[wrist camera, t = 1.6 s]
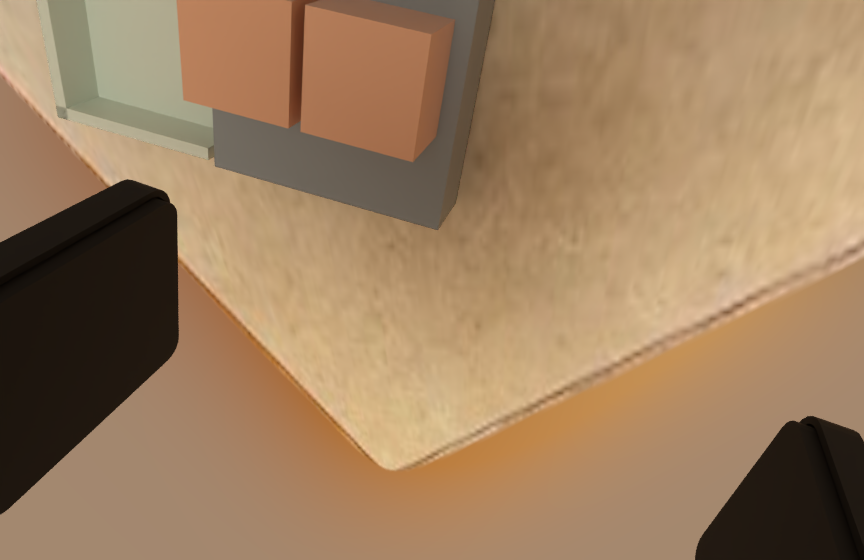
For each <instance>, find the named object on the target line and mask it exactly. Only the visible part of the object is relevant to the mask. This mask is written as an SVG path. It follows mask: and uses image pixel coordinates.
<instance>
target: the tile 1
mask: <svg viewBox="0 0 864 560" xmlns="http://www.w3.org/2000/svg"><path fill="white" fill-rule="evenodd" d="M176 1H177V15H178V29H179V44H180V58H181V72H182V87H183V100H185V101H188V102H192V103H196V104H199V105H203V106H207V107H210V108H214V109H218V110H222V111H225V112H229V113H233V114H236V115H240V116H244V117H247V118H251V119H255V120H259V121H262V122H266V123H270V124H273V125H277V126H281V127H284V128H290V127H292V126H293V125H295V124H296V123H298V122H300V121H301V103H302V76H303V49H304V22H305V5H306V4H309V3H313V2H316V1H319V0H176Z"/></svg>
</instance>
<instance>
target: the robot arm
mask: <svg viewBox="0 0 864 560" xmlns="http://www.w3.org/2000/svg"><path fill="white" fill-rule="evenodd" d="M178 329H179V328H178V245H177V210H176V208H175V206H174V205H173V204H171V203H170V199H169V197H168V195H167V194H166V193H165V192H164V191H162V190H159V189H156V188H153V187H151V186H148V185H145V184H142V183H139V182H136V181H133V180H128V179H127V180H124V181H121V182H119V183H117V184H115V185H113V186H111V187H109V188H107V189H105V190H103V191H101V192H99V193H97V194H95V195H93V196H91V197H89V198H87V199H85V200H83V201H81V202H79V203H77V204H75V205H73V206H71V207H69V208H67V209H65V210H63V211H61V212H59V213H57V214H56V215H54V216H52V217H50V218H48V219H46V220H44V221H42V222H40V223H38V224H36V225H34V226H32V227H30V228H28V229H26V230H24V231H22V232H20V233H18V234H16V235H14V236H12V237H10V238H8V239H6V240H4V241H2V242H0V514H2V513H3V512H5V511H6V510H7V509H9V508H10V507H11V506H12V505H13V504H14V503H15V502H16V501H17V500H19V499H20V498H21V496H23V495H24V494H25V493H26V492H27V491H28V490H29V489H30V488H31V487H32V486H34V485H35V484H36V483H37V482H38V481H39V480H40V479H41V478H42V477H43V476H44V475H45V474H46V473H47V472H49V470H50V469H52V468H53V467H54V466H55V465H56V464H57V463H58V462H59V461H60V460H61V459H62V458H64V456H66V455H67V454H68V453H69V452H70V451H71V450H72V449H73V448H74V447H75V446H76V445H77V444H79V443H80V442H81V441H82V440H83V439H84V438H85V437H86V436H87V435H88V434H89V433H90V432H91V431H92V430H94V429H95V428H96V427H97V426H98V425H99V424H100V423H101V422H102V421H103V420H104V419H105V418H106V417H107V416H109V415H110V414H111V413H112V412H113V411H114V410H115V409H116V408H117V407H118V406H119V405H120V404H121V403H122V402H124V401H125V400H126V399H127V398H128V397H129V396H130V395H131V394H132V393H133V392H134V391H135V390H136V389H137V388H139V387H140V386H141V385H142V384H143V383H144V382H145V381H146V380H147V379H148V378H149V377H150V376H151V375H152V374H154V373H155V372H156V371H157V370H158V369H159V368H160V367H161V366H162V365H163V364H164V363H165V362H166V361H167V360H168V359H169V358H170V357H171V356H172V354H173V353H174V351H175V349H176V347H177V343H178V337H179V330H178ZM695 560H864V441H863V439H862V438H861V436H860V434H859V433H857V432H856V431H854V430H851V429H849V428H846V427H843V426H840V425H837V424H834V423H831V422H828V421H826V420H823V419H820V418H817V417H814V416H808V417H806V418H804V419H802V420H801V421H800V422H796V421H789V422H787V423H786V424H785V425H784V426H783V427H782V429H781V430H780V431H779V433H778V434H777V435H776V437H775V438H774V439H773V441H772V442H771V444H770V445H769V446H768V448H767V449H766V450H765V451H764V453H763V454H762V455H761V457H760V458H759V459H758V461H757V462H756V464H755V465H754V466H753V468H752V469H751V470H750V472H749V473H748V474H747V476H746V477H745V478H744V480H743V481H742V482H741V484H740V485H739V486H738V488H737V489H736V490H735V492H734V494H732V496H731V497H730V499H729V500H728V501H727V503H726V504H725V505H724V507H723V508H722V509H721V511H720V512H719V513H718V515H717V516H716V517H715V519H714V520H713V521H712V523H711V524H710V525H709V527H708V528H707V530H706V531H705V532H704V534H703V535H702V537H701V538H700V540H699V543H698V546H697V550H696V555H695Z"/></svg>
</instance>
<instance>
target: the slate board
mask: <svg viewBox="0 0 864 560" xmlns="http://www.w3.org/2000/svg"><path fill="white" fill-rule="evenodd" d="M372 1H376V2H381V3H385V4H389V5H394V6H398V7H402V8H407V9H411V10H416V11H420V12H424V13H429V14H433V15H438V16H442V17H446V18H451V19H455V26H454V32H453V38H452V44H451V50H450V56H449V62H448V68H447V74H446V80H445V87H444V93H443V99H442V105H441V111H440V117H439V123H438V129H437V135H436V137H435V138H434V140H433V141H432V142H431V143H430V144H429V145H428V146H427V147H426V148H425V149H424V151H423V152H422V153H421V154H420V155H419V156H418V157H417V158H416V159H415V160H414V161H413V162H410V161H407V160H403V159H399V158H396V157H392V156H388V155H384V154H381V153H377V152H373V151H370V150H366V149H362V148H359V147H355V146H351V145H347V144H344V143H340V142H336V141H333V140H329V139H325V138H322V137H318V136H314V135H310V134H307V133H303V132H300V131H301V121H300V122H298V123H296V124H295V125H293V126H292V127H290V128H284V127H281V126H277V125H273V124H270V123H266V122H262V121H259V120H255V119H251V118H247V117H244V116H240V115H236V114H233V113H229V112H225V111H222V110H218V109H214V108H212V113H213V136H214V158H215V166H216V167H219V168H223V169H226V170H230V171H233V172H237V173H240V174H244V175H247V176H251V177H254V178H257V179H261V180H264V181H268V182H271V183H275V184H278V185H282V186H285V187H289V188H292V189H296V190H299V191H303V192H306V193H310V194H313V195H317V196H320V197H324V198H327V199H331V200H334V201H338V202H341V203H345V204H348V205H352V206H355V207H359V208H362V209H366V210H369V211H373V212H376V213H380V214H383V215H386V216H390V217H393V218H397V219H400V220H404V221H407V222H411V223H414V224H418V225H421V226H425V227H428V228H432V229H435V230H438V229H439V228H440V226H441V225H442V223H443V222H444V220H445V218H446V217H447V215H448V214H449V212H450V211H451V209H452V208H453V206H454V205H455V203H456V198H457V193H458V188H459V183H460V178H461V173H462V167H463V162H464V157H465V152H466V147H467V142H468V136H469V131H470V126H471V121H472V116H473V111H474V106H475V100H476V95H477V90H478V85H479V80H480V75H481V69H482V64H483V59H484V54H485V49H486V44H487V39H488V33H489V28H490V23H491V18H492V13H493V8H494V2H495V0H372Z"/></svg>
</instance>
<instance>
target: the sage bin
mask: <svg viewBox="0 0 864 560" xmlns="http://www.w3.org/2000/svg"><path fill="white" fill-rule="evenodd" d="M36 1H37V7H38V12H39V17H40V23H41V28H42V34H43V39H44V44H45V50H46V55H47V60H48V66H49V71H50V77H51V82H52V87H53V93H54V98H55V103H56V109H57V114H58V117H59V118H63V119H66V120H70V121H73V122H77V123H80V124H84V125H87V126H91V127H94V128H98V129H101V130H105V131H108V132H112V133H115V134H119V135H122V136H126V137H129V138H133V139H136V140H140V141H143V142H147V143H150V144H154V145H157V146H161V147H164V148H168V149H171V150H175V151H178V152H182V153H185V154H189V155H192V156H196V157H199V158H203V159H206V160H209V159H211V158H213V157H214V136H213V113H212V108H210V107H207V106H203V105H199V104H196V103H192V102H188V101H185V100H183V87H182V72H181V58H180V44H179V29H178V15H177V1H176V0H36Z"/></svg>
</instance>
